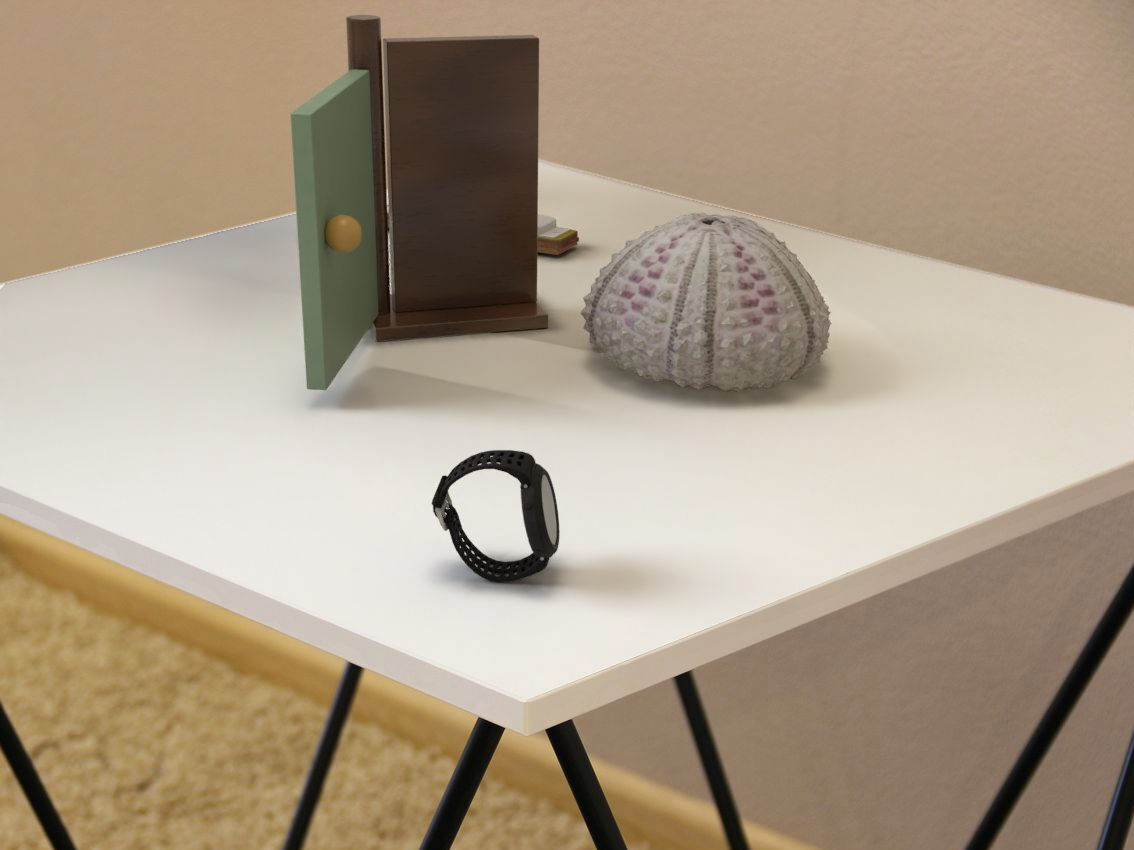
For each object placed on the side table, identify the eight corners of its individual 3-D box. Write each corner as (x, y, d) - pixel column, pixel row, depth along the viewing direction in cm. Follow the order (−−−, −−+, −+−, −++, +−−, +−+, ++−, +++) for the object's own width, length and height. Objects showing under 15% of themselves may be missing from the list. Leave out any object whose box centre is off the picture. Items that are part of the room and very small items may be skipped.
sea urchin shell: (657, 309, 91) (663, 176, 88) (869, 354, 85) (884, 212, 81) (534, 373, 81) (536, 225, 77) (765, 429, 75) (777, 271, 71)
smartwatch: (534, 607, 58) (535, 487, 56) (419, 576, 60) (416, 459, 58) (583, 563, 61) (585, 449, 59) (473, 535, 63) (471, 423, 61)
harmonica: (579, 247, 103) (579, 218, 102) (558, 258, 100) (558, 229, 100) (395, 218, 109) (395, 191, 108) (371, 228, 106) (370, 200, 105)
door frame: (369, 342, 85) (356, 25, 77) (350, 309, 90) (336, 9, 83) (548, 327, 88) (552, 21, 80) (520, 297, 93) (521, 6, 86)
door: (360, 392, 75) (348, 115, 69) (306, 389, 75) (289, 113, 70) (408, 316, 86) (401, 71, 80) (361, 314, 86) (350, 69, 80)
